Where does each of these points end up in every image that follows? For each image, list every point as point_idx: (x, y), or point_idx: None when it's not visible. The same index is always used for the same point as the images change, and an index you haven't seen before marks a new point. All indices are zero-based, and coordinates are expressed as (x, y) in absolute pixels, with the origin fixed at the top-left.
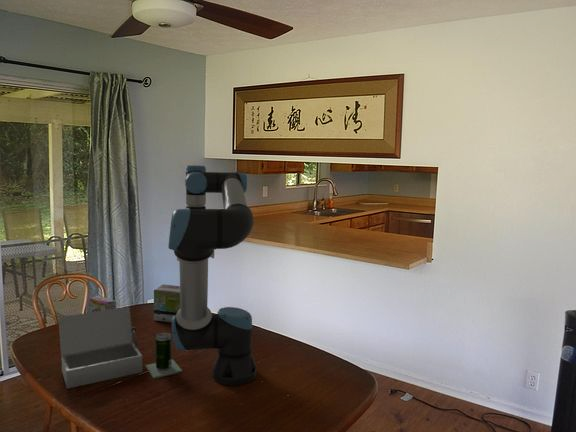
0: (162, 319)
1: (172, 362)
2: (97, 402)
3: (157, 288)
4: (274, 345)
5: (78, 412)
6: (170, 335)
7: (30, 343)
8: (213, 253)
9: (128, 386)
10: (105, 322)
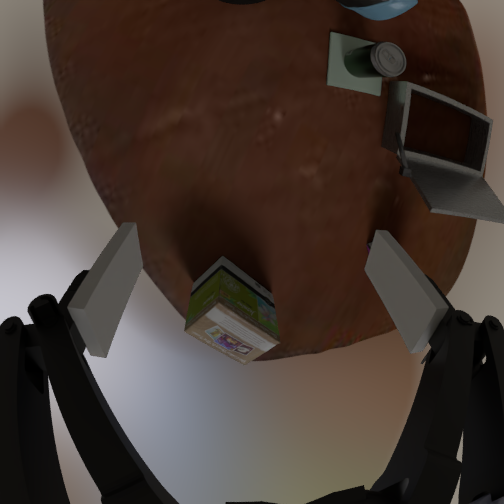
0: (259, 286)
1: (334, 72)
2: (458, 49)
3: (267, 349)
4: (93, 59)
5: (475, 48)
6: (378, 46)
7: (445, 282)
8: (116, 240)
9: (420, 54)
10: (458, 194)
